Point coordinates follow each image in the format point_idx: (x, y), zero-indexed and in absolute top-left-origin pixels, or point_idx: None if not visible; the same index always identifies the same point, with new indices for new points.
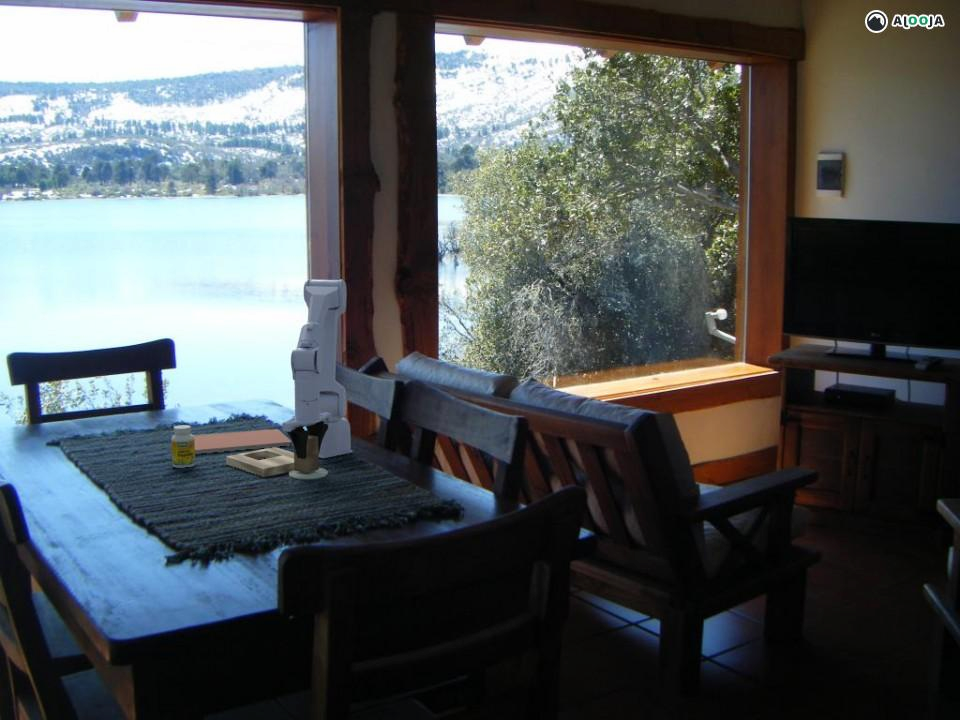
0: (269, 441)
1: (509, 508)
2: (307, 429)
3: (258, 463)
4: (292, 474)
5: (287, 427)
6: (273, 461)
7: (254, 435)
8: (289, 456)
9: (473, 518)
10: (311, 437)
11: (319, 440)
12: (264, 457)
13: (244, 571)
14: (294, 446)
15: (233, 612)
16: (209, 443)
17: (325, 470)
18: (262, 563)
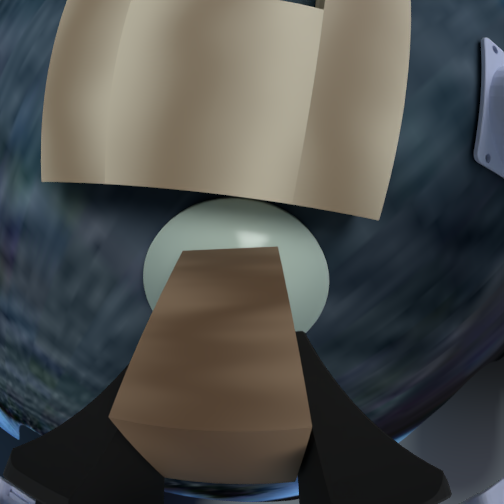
0: None
1: (284, 500)
2: (324, 487)
3: (82, 60)
4: (154, 266)
5: (6, 501)
6: (163, 74)
7: None
8: (334, 58)
9: (232, 500)
10: (233, 480)
11: None
12: None
13: (4, 418)
14: (113, 385)
15: (3, 428)
16: None
17: (306, 324)
18: (14, 424)
